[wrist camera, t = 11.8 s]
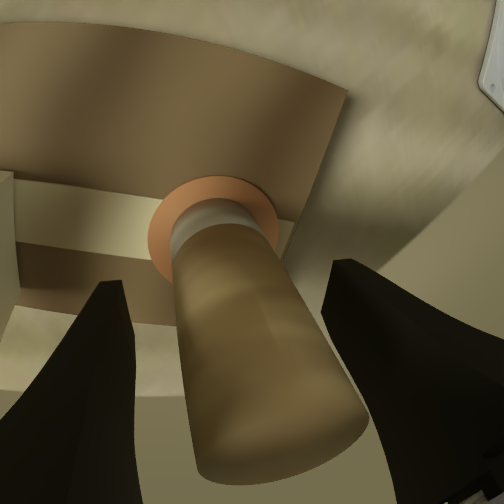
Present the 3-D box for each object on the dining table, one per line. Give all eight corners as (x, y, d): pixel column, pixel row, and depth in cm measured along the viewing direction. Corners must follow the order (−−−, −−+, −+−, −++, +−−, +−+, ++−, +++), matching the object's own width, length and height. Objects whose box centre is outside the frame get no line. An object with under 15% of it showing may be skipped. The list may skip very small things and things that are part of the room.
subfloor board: (328, 86, 11) (350, 91, 10) (246, 309, 16) (254, 333, 15) (-55, 34, 5) (-78, 35, 4) (-54, 268, 10) (-67, 288, 9)
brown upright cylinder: (261, 196, 11) (394, 383, 5) (255, 273, 13) (341, 462, 6) (167, 200, 10) (188, 428, 4) (172, 280, 12) (203, 493, 5)
